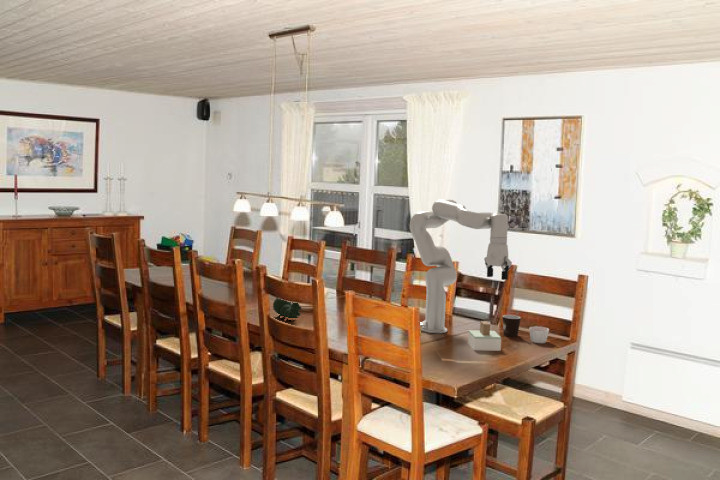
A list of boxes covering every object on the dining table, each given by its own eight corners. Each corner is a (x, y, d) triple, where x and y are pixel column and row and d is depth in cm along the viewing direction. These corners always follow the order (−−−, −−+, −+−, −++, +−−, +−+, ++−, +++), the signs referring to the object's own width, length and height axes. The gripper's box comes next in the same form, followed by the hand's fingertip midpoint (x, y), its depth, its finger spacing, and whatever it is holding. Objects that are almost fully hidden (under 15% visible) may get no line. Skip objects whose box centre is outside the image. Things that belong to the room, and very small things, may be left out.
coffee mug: (519, 340, 325) (521, 319, 324) (501, 338, 327) (502, 318, 326) (519, 334, 337) (520, 314, 336) (501, 333, 339) (502, 313, 338)
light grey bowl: (552, 343, 321) (553, 330, 321) (536, 344, 318) (537, 331, 317) (540, 338, 330) (541, 326, 329) (524, 340, 326) (525, 327, 325)
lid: (474, 338, 299) (475, 325, 299) (468, 332, 311) (469, 319, 310) (500, 339, 300) (501, 326, 299) (494, 333, 312) (495, 320, 311)
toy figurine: (304, 326, 344) (283, 312, 364) (307, 290, 340) (285, 278, 361) (287, 328, 339) (266, 313, 359) (290, 291, 335) (269, 279, 356)
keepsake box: (473, 352, 300) (474, 338, 299) (467, 345, 312) (468, 332, 311) (500, 352, 300) (501, 339, 300) (493, 345, 312) (494, 332, 312)
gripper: (479, 239, 315) (478, 276, 317) (505, 242, 300) (504, 281, 302) (491, 239, 319) (490, 275, 321) (518, 242, 304) (516, 280, 306)
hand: (497, 278), depth 311 cm, fingers open, 9 cm apart
